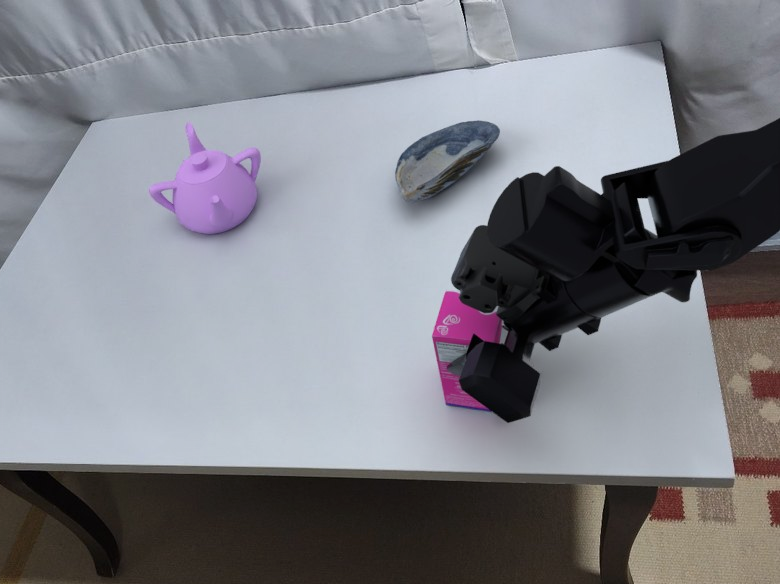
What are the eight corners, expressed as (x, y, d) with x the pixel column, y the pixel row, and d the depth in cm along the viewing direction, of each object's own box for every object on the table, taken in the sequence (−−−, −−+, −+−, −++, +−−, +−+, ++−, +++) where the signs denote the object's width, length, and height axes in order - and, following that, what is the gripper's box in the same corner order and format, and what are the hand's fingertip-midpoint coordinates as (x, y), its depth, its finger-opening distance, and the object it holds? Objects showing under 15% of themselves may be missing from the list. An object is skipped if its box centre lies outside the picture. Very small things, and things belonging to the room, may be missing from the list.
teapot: (208, 172, 108) (186, 120, 101) (286, 192, 102) (269, 138, 95) (157, 227, 103) (132, 177, 96) (236, 252, 97) (214, 199, 90)
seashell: (500, 217, 90) (499, 185, 86) (395, 224, 93) (389, 193, 89) (500, 135, 98) (499, 103, 94) (404, 144, 102) (399, 113, 98)
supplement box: (455, 360, 79) (445, 286, 70) (513, 368, 76) (511, 292, 68) (442, 406, 76) (430, 335, 67) (502, 415, 73) (498, 343, 65)
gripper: (541, 140, 61) (425, 225, 74) (478, 315, 52) (358, 377, 65) (636, 222, 64) (508, 290, 77) (592, 401, 55) (455, 444, 68)
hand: (459, 344), depth 71 cm, fingers closed on supplement box, 6 cm apart
